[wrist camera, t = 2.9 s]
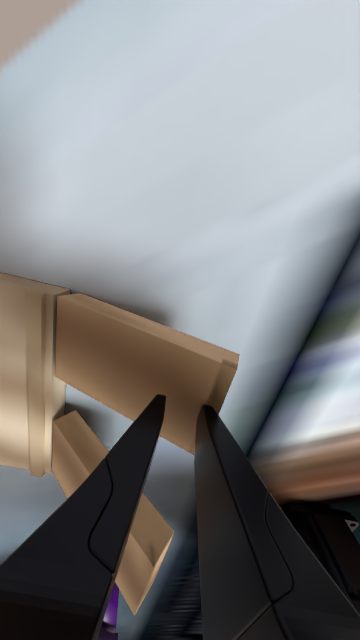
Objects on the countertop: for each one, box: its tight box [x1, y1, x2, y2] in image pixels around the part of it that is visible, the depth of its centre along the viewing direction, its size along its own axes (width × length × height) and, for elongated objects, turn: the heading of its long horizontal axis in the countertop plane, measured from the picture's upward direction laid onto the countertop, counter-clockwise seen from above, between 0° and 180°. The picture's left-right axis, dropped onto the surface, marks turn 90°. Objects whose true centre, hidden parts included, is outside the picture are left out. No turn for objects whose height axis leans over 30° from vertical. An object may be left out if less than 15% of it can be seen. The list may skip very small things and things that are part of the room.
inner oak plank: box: [52, 410, 174, 616], centre depth 11 cm, size 5×9×1 cm
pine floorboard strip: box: [0, 273, 70, 477], centre depth 12 cm, size 14×7×2 cm, turn 166°
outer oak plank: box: [55, 293, 240, 455], centre depth 10 cm, size 5×9×1 cm, turn 76°
